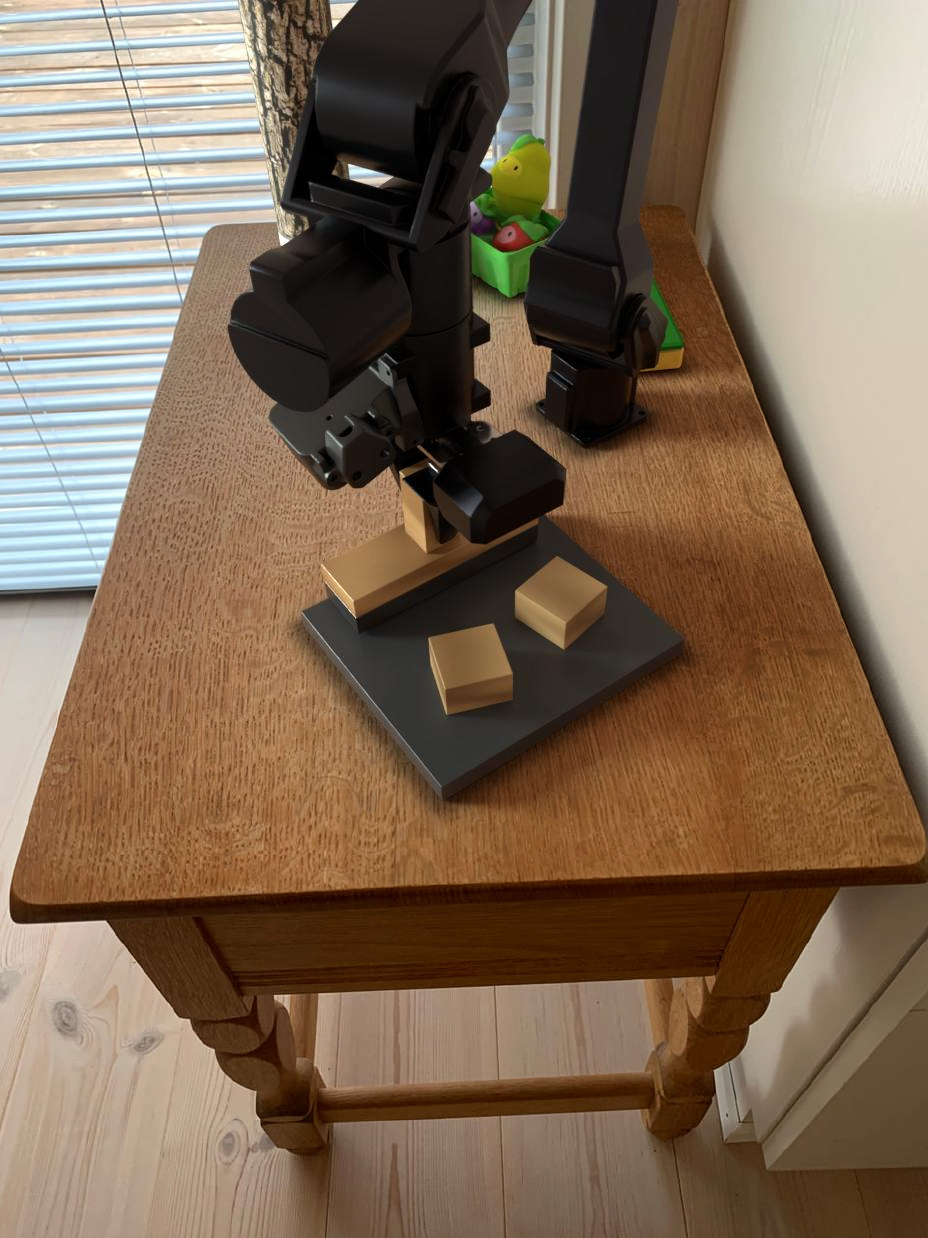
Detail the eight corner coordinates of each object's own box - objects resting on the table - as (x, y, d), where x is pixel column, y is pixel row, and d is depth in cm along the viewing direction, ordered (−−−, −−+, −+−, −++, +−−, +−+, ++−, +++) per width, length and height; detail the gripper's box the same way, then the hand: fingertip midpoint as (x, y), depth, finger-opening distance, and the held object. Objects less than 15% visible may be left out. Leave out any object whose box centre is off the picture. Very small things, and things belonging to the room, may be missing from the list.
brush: (502, 507, 68) (502, 413, 62) (538, 539, 66) (541, 445, 60) (326, 596, 63) (308, 503, 57) (358, 634, 61) (343, 542, 55)
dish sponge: (597, 377, 81) (599, 351, 79) (565, 288, 90) (566, 264, 88) (682, 369, 81) (686, 343, 79) (641, 281, 90) (644, 257, 88)
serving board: (525, 513, 70) (526, 497, 69) (681, 654, 61) (685, 638, 60) (303, 626, 64) (300, 611, 63) (442, 802, 55) (441, 787, 54)
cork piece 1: (494, 649, 60) (493, 622, 58) (513, 700, 57) (513, 673, 56) (430, 663, 59) (428, 637, 58) (446, 716, 57) (444, 689, 55)
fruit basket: (432, 259, 94) (425, 137, 85) (505, 230, 97) (506, 110, 89) (506, 309, 88) (507, 184, 79) (582, 276, 91) (590, 152, 83)
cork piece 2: (555, 582, 64) (557, 555, 62) (604, 613, 62) (608, 586, 60) (514, 617, 62) (515, 590, 60) (564, 650, 60) (566, 623, 58)
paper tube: (282, 272, 93) (227, -34, 74) (352, 259, 94) (316, -45, 75) (295, 309, 89) (241, -6, 70) (369, 295, 90) (335, -18, 71)
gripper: (194, 279, 52) (250, 499, 64) (378, 461, 42) (405, 683, 54) (373, 216, 56) (395, 434, 68) (581, 368, 46) (564, 594, 58)
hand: (433, 527), depth 62 cm, fingers closed on brush, 2 cm apart
